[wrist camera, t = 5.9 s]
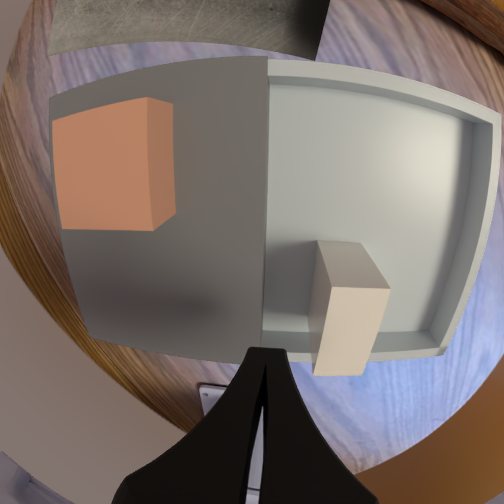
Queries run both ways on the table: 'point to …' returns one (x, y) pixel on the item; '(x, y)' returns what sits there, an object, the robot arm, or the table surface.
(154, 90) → the board
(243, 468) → the robot arm
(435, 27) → the table surface
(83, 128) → the tile terracotta
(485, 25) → the meat cleaver
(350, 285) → the tile white
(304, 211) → the tray
